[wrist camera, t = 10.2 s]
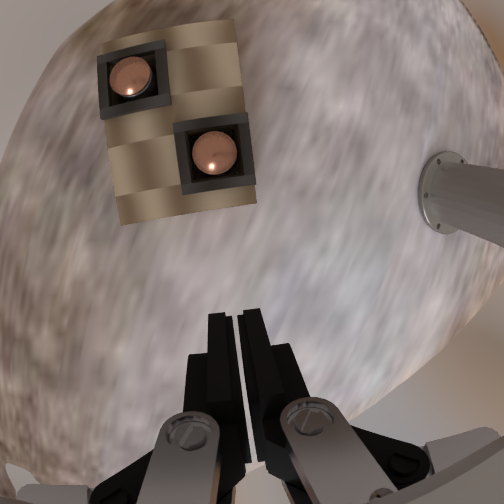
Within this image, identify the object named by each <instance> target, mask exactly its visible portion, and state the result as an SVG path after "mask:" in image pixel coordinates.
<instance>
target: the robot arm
mask: <svg viewBox="0 0 504 504" xmlns="http://www.w3.org/2000/svg"><path fill="white" fill-rule="evenodd" d="M418 198H419V206H420V210H421V213H422V216H423V218H424V220H425V221H426V223H427V225H428V226H430V227H431V228H432V229H433V230H435V231H437V232H440V233H442V234H449V233H453V232H455V231H457V230H458V229H460V230H463V231H465V232H468V233H470V234H473V235H475V236H478V237H480V238H482V239H485V240H487V241H490V242H492V243H494V244H497V245H499V246H501V247H503V248H504V170H503V169H497V168H491V167H485V166H478V165H471V164H468V163H467V162H466V160H465V159H464V158H463V157H462V156H460V155H459V154H457V153H455V152H447V151H444V152H440V153H438V154H436V155H434V156H433V157H432V158H431V159H430V160H429V161H428V163H427V164H426V166H425V168H424V170H423V172H422V175H421V178H420V183H419V194H418ZM237 318H238V326H239V335H240V343H241V352H242V360H243V368H244V376H245V383H246V390H247V397H248V403H249V410H250V416H251V423H252V429H253V435H254V442H255V448H256V454H257V460H258V462H262V461H265V464H266V468H267V470H268V473H270V474H272V475H273V476H276V477H277V478H279V479H281V481H282V485H283V487H284V489H285V492H286V494H287V496H288V498H289V501H290V503H291V504H504V436H502V437H501V436H500V435H499V434H498V432H496V431H495V430H493V429H491V428H487V427H481V428H477V429H474V430H471V431H467V432H464V433H461V434H458V435H454V436H450V437H446V438H442V439H438V440H434V441H430V442H426V444H425V446H421V447H418V446H415V445H413V444H410V443H406V442H403V441H399V440H396V439H392V438H389V437H385V436H382V435H379V434H376V433H372V432H369V431H366V430H363V429H360V428H357V427H354V426H351V425H350V424H349V423H348V422H347V420H346V419H345V417H344V416H343V415H342V413H341V412H340V410H339V409H338V408H337V407H336V406H335V405H334V404H333V403H332V402H330V401H328V400H326V399H322V398H318V397H310V395H309V392H308V390H307V387H306V385H305V382H304V380H303V377H302V374H301V372H300V369H299V367H298V364H297V361H296V359H295V356H294V354H293V351H292V349H291V346H290V344H289V343H286V344H279V345H272V346H271V345H270V342H269V338H268V335H267V331H266V328H265V324H264V321H263V318H262V314H261V311H260V308H258V309H249V310H243V315H237ZM245 463H252V460H251V453H250V446H249V439H248V432H247V425H246V418H245V411H244V404H243V396H242V389H241V381H240V374H239V366H238V359H237V351H236V344H235V336H234V328H233V320H232V316H226V315H225V312H223V313H213V314H208V352H207V353H201V354H189V356H188V363H187V373H186V384H185V395H184V407H183V413H179V414H176V415H174V416H172V417H170V418H169V419H168V420H167V421H166V422H165V423H164V424H163V426H162V427H161V429H160V432H159V435H158V438H157V441H156V444H155V447H154V449H153V450H152V451H150V452H149V453H147V454H146V455H144V456H143V457H141V458H140V459H138V460H137V461H135V462H134V463H132V464H131V465H129V466H127V467H126V468H124V469H123V470H121V471H120V472H118V473H116V474H115V475H113V476H112V477H110V478H108V479H107V480H105V481H103V482H102V483H100V484H99V485H98V486H97V487H95V488H89V487H88V486H87V485H44V484H27V485H25V486H23V487H22V488H21V489H20V490H19V491H18V493H17V496H16V499H13V498H8V497H3V496H0V504H235V494H236V488H235V485H236V484H237V483H238V482H239V481H240V480H242V479H243V478H244V476H245V473H246V469H245Z"/></svg>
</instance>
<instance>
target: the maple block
mask: <svg viewBox="0 0 504 504" xmlns="http://www.w3.org/2000/svg"><path fill="white" fill-rule="evenodd" d="M128 57H139V58H142V59H144V60H145V61H146V62H147V64H148V65H149V66H150V68H151V69H156V72H157V83H158V94H159V95H157V96H152V97H147V98H143V99H139V100H134V101H130V102H126V103H125V101H124V97H122V96H121V95H119V94H118V93H116V92H115V91H114V90H113V89H112V87H111V85H110V74H111V71H112V69H113V68H114V66H115V65H116V64H117V63H118V62H120V61H121V60H123V59H125V58H128ZM97 73H98V93H99V107H100V118H101V119H102V120H105V129H106V138H107V146H108V154H109V161H110V167H111V174H112V180H113V186H114V192H115V197H116V203H117V208H118V213H119V218H120V223H121V226H122V225H127V224H132V223H138V222H143V221H149V220H154V219H160V218H165V217H171V216H177V215H183V214H189V213H195V212H201V211H208V210H214V209H221V208H227V207H234V206H241V205H248V204H255V203H257V201H256V192H255V185H256V178H255V170H254V161H253V153H252V145H251V137H250V129H249V121H248V113H247V112H246V111H245V103H244V95H243V87H242V79H241V72H240V64H239V56H238V49H237V41H236V34H235V26H234V19H226V20H215V21H206V22H198V23H191V24H184V25H178V26H172V27H167V28H162V29H157V30H152V31H147V32H143V33H139V34H135V35H131V36H127V37H123V38H119V39H116V40H112V41H109V42H106V43H102V44H101V55H100V56H97ZM227 130H233V133H234V141H235V145H236V149H237V156H236V157H237V165H238V173H231V174H224V175H217V176H210V177H204V178H198V179H195V177H194V170H193V163H192V156H191V148H190V140H189V136H193V135H199V134H205V133H207V132H211V131H219V132H220V131H227Z"/></svg>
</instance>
